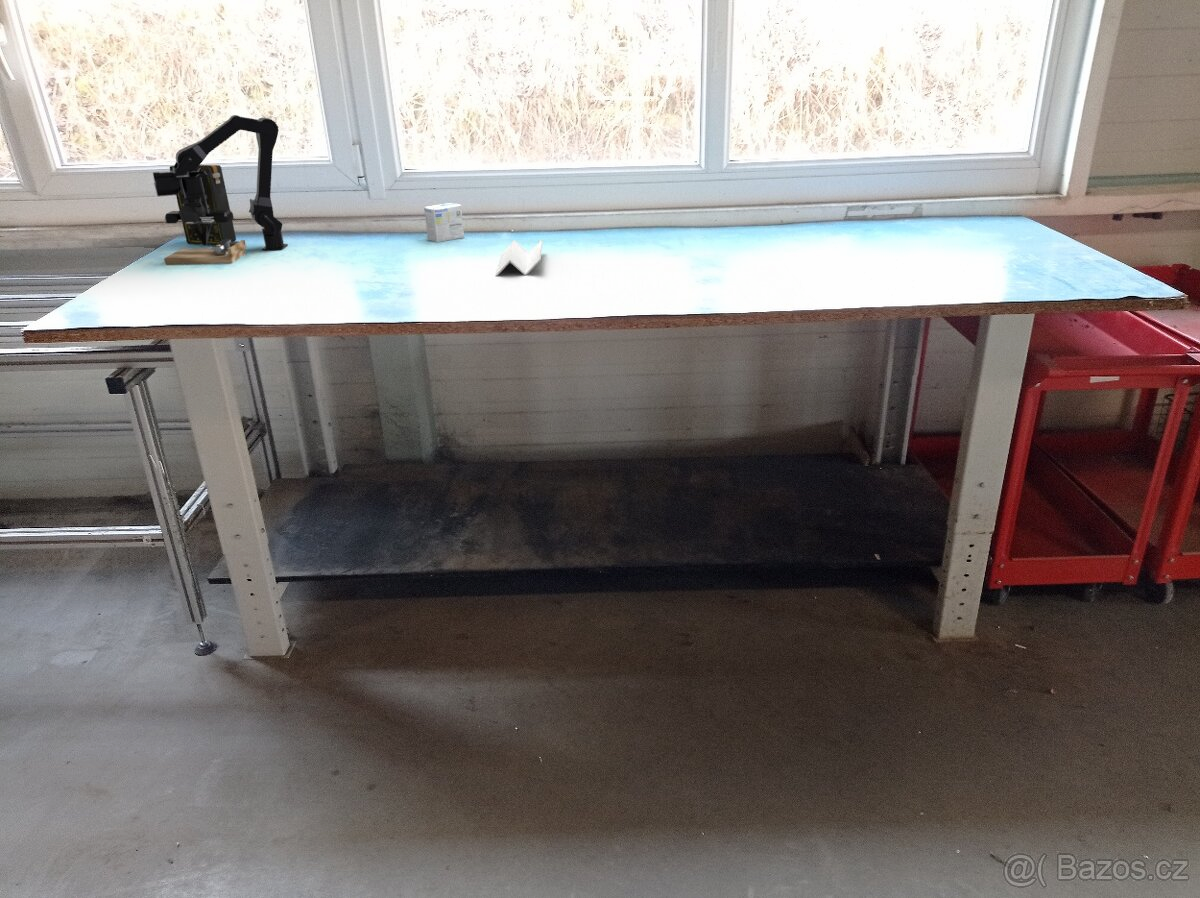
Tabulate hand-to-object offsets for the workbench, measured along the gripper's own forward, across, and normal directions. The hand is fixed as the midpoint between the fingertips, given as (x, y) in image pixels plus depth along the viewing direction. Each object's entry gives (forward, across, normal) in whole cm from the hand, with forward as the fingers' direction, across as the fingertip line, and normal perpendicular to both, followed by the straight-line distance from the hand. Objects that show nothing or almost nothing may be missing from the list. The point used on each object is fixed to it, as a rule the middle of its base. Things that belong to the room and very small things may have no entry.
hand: (205, 244), depth 264 cm
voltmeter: (+4, -6, +20) cm, 21 cm away
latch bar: (+1, +6, -3) cm, 7 cm away
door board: (+4, +1, -3) cm, 5 cm away
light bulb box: (+3, +72, +17) cm, 74 cm away
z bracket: (+4, +99, -20) cm, 101 cm away
